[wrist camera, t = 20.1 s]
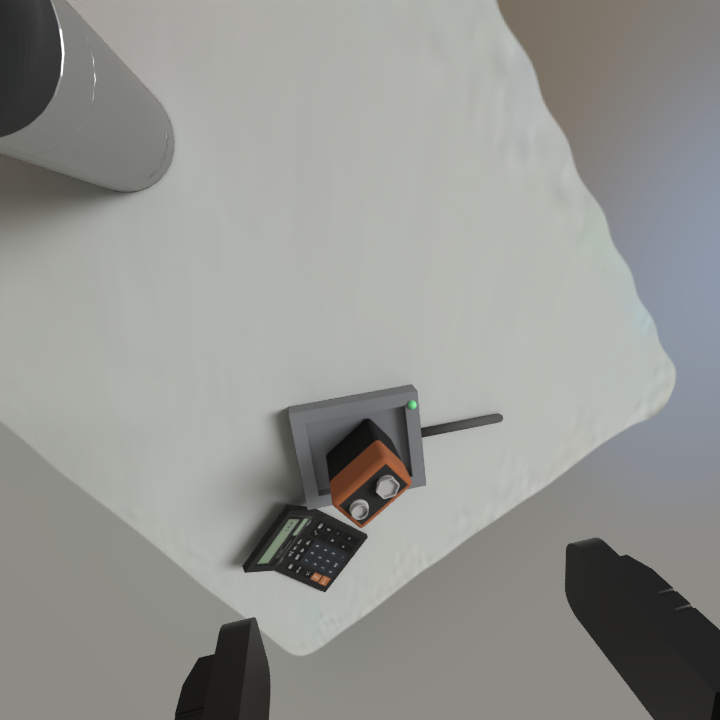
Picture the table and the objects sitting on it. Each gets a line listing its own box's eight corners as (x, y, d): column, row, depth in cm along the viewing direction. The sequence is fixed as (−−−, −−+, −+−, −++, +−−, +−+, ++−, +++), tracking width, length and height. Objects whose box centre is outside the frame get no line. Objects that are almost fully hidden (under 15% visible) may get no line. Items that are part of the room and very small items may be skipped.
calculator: (324, 586, 50) (326, 607, 48) (245, 551, 47) (241, 571, 44) (366, 532, 49) (370, 550, 46) (287, 492, 46) (286, 509, 43)
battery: (392, 439, 45) (418, 490, 35) (349, 478, 45) (363, 538, 36) (367, 415, 44) (387, 460, 34) (323, 455, 44) (330, 511, 35)
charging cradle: (307, 499, 46) (307, 513, 44) (288, 406, 43) (288, 416, 40) (501, 459, 49) (512, 470, 46) (499, 368, 45) (510, 375, 43)
